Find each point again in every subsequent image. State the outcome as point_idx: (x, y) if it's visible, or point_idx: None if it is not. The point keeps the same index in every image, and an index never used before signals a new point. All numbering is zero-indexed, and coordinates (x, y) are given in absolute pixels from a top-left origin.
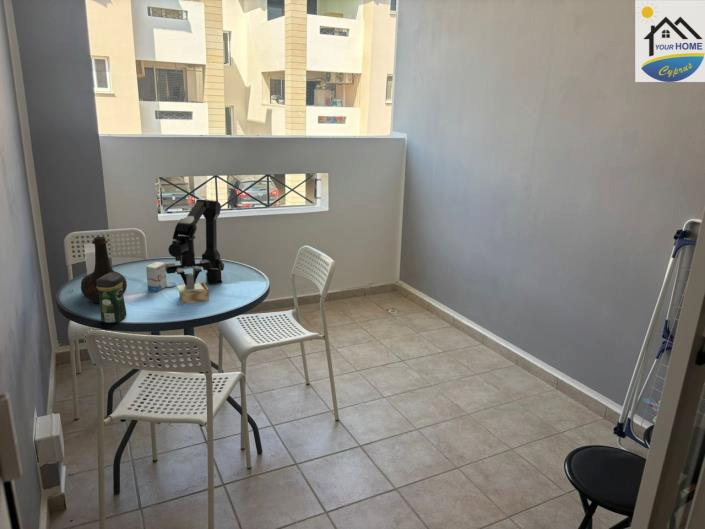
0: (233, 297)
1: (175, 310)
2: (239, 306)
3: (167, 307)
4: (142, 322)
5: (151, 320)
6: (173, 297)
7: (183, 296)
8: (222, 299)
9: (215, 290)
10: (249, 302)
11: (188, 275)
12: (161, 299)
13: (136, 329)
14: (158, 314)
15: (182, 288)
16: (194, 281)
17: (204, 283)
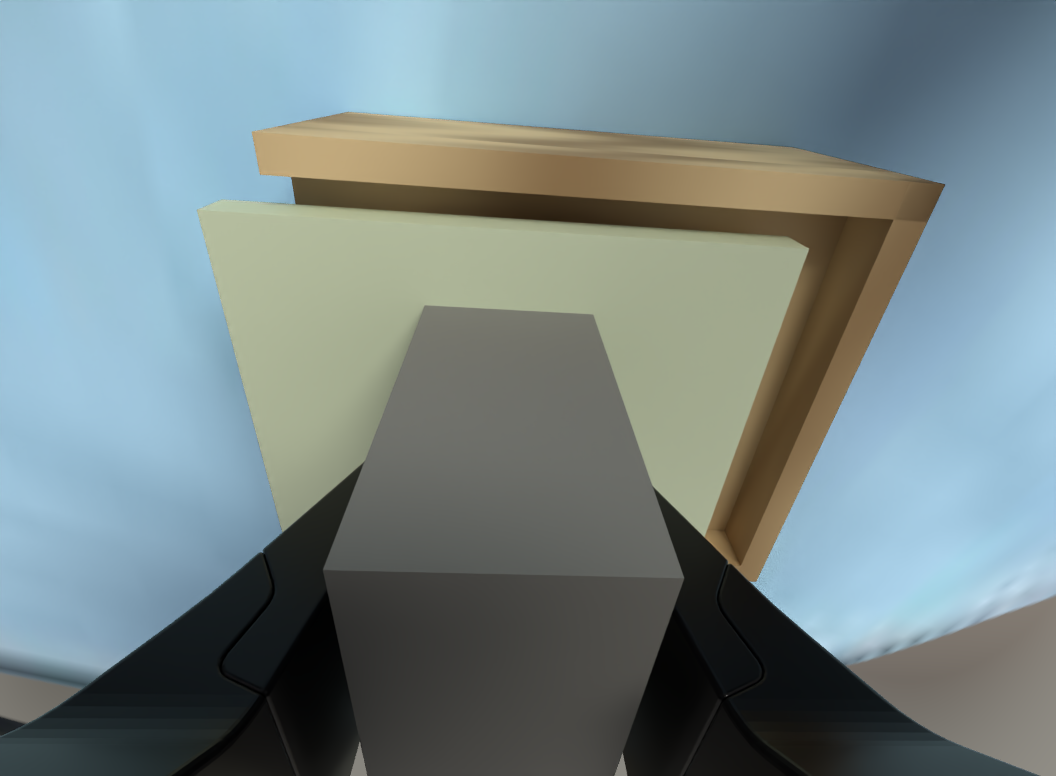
0: (968, 476)
1: None
2: (838, 653)
3: (191, 466)
4: (18, 661)
5: (89, 654)
6: (237, 116)
7: None
8: (833, 483)
9: (1024, 91)
10: (968, 620)
11: (466, 735)
12: (20, 123)
13: (15, 726)
14: (123, 582)
15: (343, 427)
16: None
17: (889, 289)
